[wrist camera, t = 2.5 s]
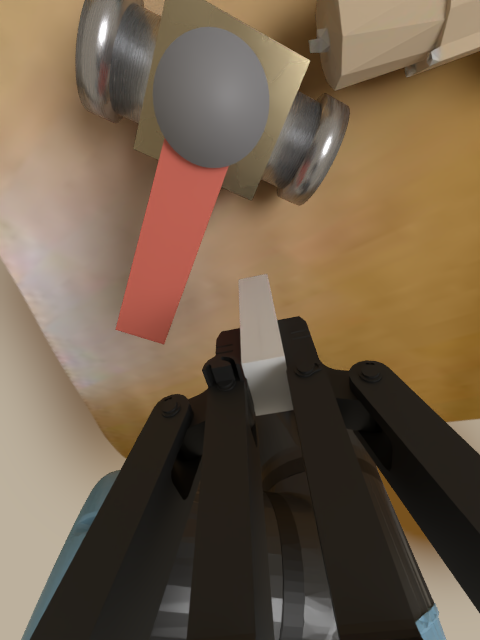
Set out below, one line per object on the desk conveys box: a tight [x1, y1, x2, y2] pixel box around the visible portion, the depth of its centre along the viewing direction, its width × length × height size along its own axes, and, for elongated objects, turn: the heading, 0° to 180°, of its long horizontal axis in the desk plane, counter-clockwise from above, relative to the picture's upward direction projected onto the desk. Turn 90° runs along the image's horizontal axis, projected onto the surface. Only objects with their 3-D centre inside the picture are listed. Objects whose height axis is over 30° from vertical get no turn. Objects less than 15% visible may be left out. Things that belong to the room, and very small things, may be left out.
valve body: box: [76, 0, 350, 205], centre depth 19 cm, size 13×7×7 cm, turn 67°
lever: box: [116, 27, 269, 344], centre depth 16 cm, size 14×4×4 cm, turn 157°
